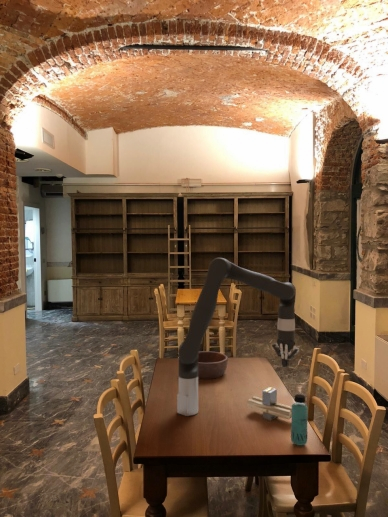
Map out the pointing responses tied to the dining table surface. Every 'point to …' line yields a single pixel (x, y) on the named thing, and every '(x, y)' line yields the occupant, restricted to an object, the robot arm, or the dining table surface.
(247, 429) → the dining table surface
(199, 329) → the robot arm
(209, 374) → the wooden bowl
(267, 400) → the block
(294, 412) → the beverage bottle
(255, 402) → the beam
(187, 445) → the dining table surface
